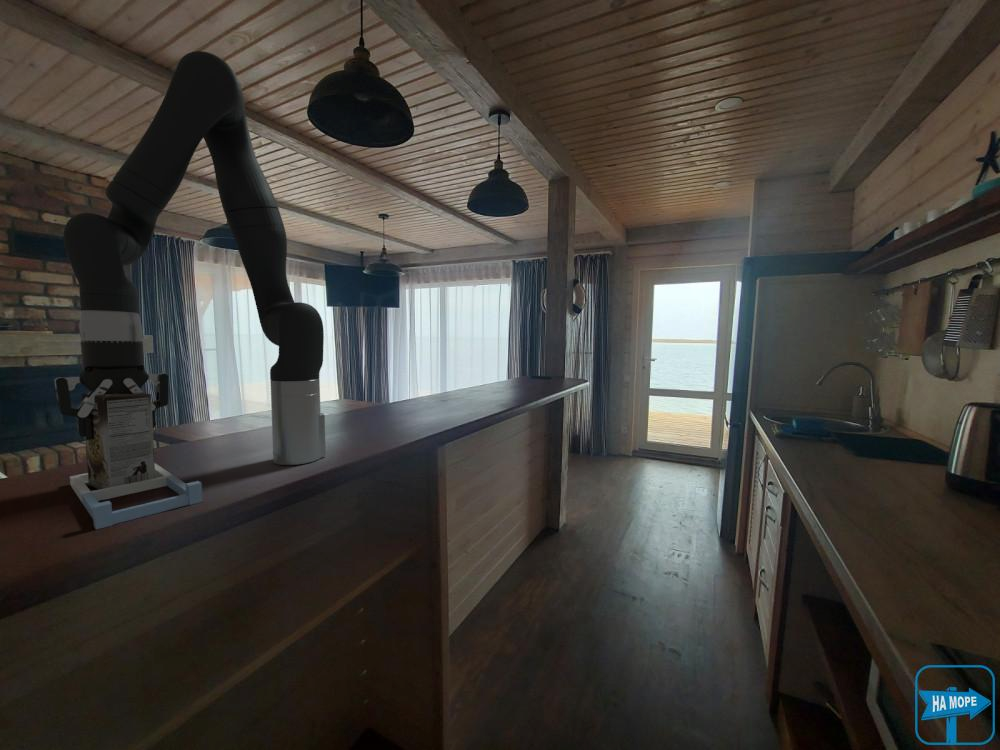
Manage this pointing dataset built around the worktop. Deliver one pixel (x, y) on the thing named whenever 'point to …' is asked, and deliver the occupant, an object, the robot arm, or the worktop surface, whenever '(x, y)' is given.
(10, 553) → the worktop surface
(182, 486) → the frame
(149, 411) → the coffee box
